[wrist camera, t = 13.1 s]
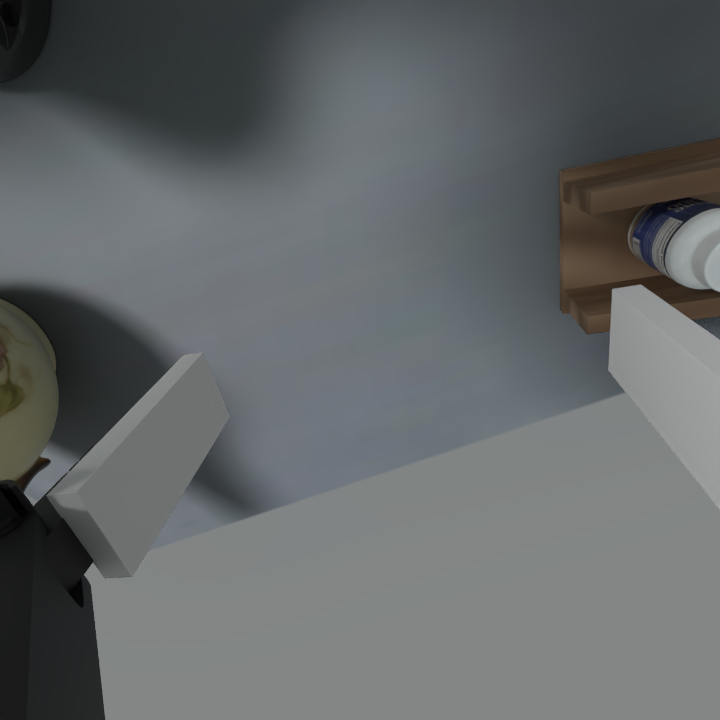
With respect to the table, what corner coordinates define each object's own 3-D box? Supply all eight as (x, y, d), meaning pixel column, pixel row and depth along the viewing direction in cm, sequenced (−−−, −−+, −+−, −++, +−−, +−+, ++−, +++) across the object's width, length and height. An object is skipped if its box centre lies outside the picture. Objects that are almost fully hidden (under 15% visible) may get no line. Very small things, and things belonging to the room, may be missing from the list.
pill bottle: (713, 199, 34) (813, 225, 26) (678, 266, 37) (760, 310, 28) (643, 188, 34) (720, 210, 26) (614, 255, 37) (675, 296, 28)
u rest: (559, 170, 35) (591, 180, 29) (745, 132, 33) (822, 134, 27) (560, 309, 40) (586, 343, 34) (719, 285, 38) (779, 317, 32)
